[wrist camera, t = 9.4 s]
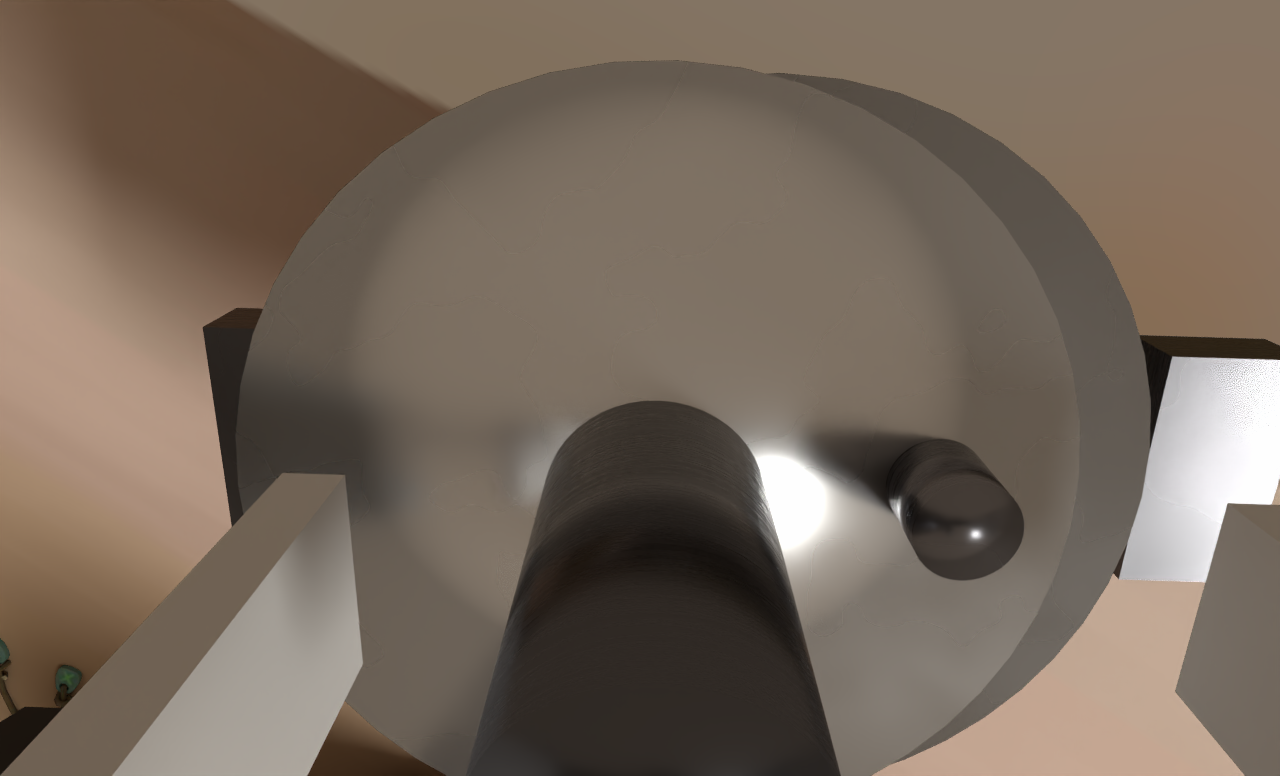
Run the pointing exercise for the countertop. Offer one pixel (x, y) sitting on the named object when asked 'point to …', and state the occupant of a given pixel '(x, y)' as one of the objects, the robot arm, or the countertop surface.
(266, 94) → the countertop surface
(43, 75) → the countertop surface
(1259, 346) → the pot
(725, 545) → the lid
